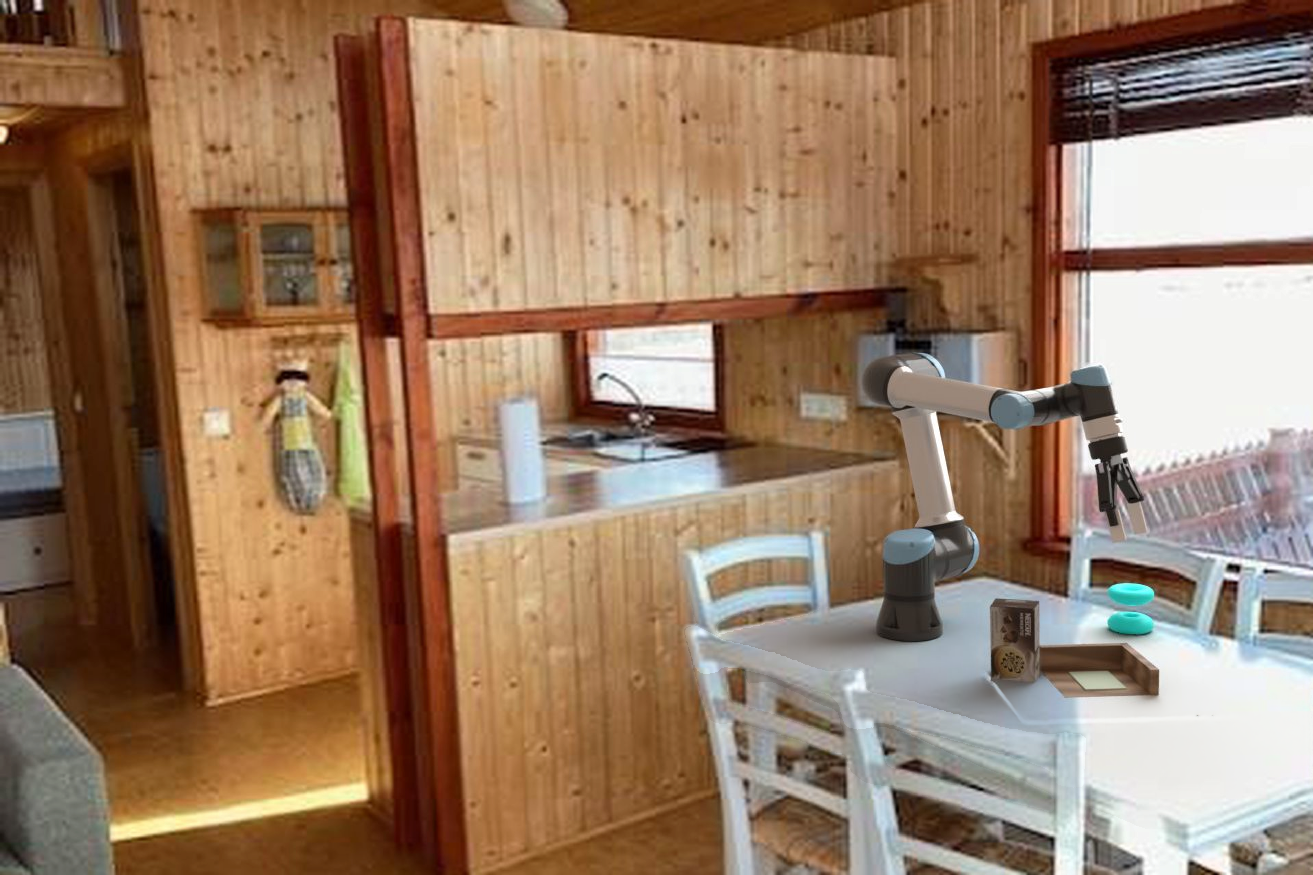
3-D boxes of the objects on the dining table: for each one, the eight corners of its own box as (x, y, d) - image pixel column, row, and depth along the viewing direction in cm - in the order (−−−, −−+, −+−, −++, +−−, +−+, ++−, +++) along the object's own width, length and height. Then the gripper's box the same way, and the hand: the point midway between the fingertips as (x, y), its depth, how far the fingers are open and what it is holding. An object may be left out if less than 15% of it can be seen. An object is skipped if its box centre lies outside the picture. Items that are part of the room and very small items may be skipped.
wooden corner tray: (1039, 672, 269) (1039, 645, 268) (1126, 669, 269) (1126, 642, 268) (1065, 701, 251) (1065, 672, 250) (1158, 698, 251) (1159, 669, 250)
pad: (1068, 673, 265) (1068, 671, 265) (1107, 672, 265) (1107, 670, 265) (1085, 690, 254) (1085, 689, 254) (1126, 689, 254) (1126, 687, 254)
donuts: (1162, 586, 295) (1140, 595, 289) (1162, 629, 297) (1139, 638, 290) (1122, 579, 303) (1099, 587, 296) (1121, 621, 304) (1098, 630, 298)
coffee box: (1040, 677, 266) (1040, 600, 264) (1035, 686, 260) (1035, 608, 258) (995, 672, 270) (995, 596, 268) (989, 681, 264) (989, 604, 262)
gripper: (1102, 438, 260) (1128, 541, 258) (1142, 430, 280) (1166, 526, 278) (1066, 446, 265) (1092, 548, 263) (1108, 438, 284) (1132, 532, 283)
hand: (1130, 537), depth 270 cm, fingers open, 13 cm apart
